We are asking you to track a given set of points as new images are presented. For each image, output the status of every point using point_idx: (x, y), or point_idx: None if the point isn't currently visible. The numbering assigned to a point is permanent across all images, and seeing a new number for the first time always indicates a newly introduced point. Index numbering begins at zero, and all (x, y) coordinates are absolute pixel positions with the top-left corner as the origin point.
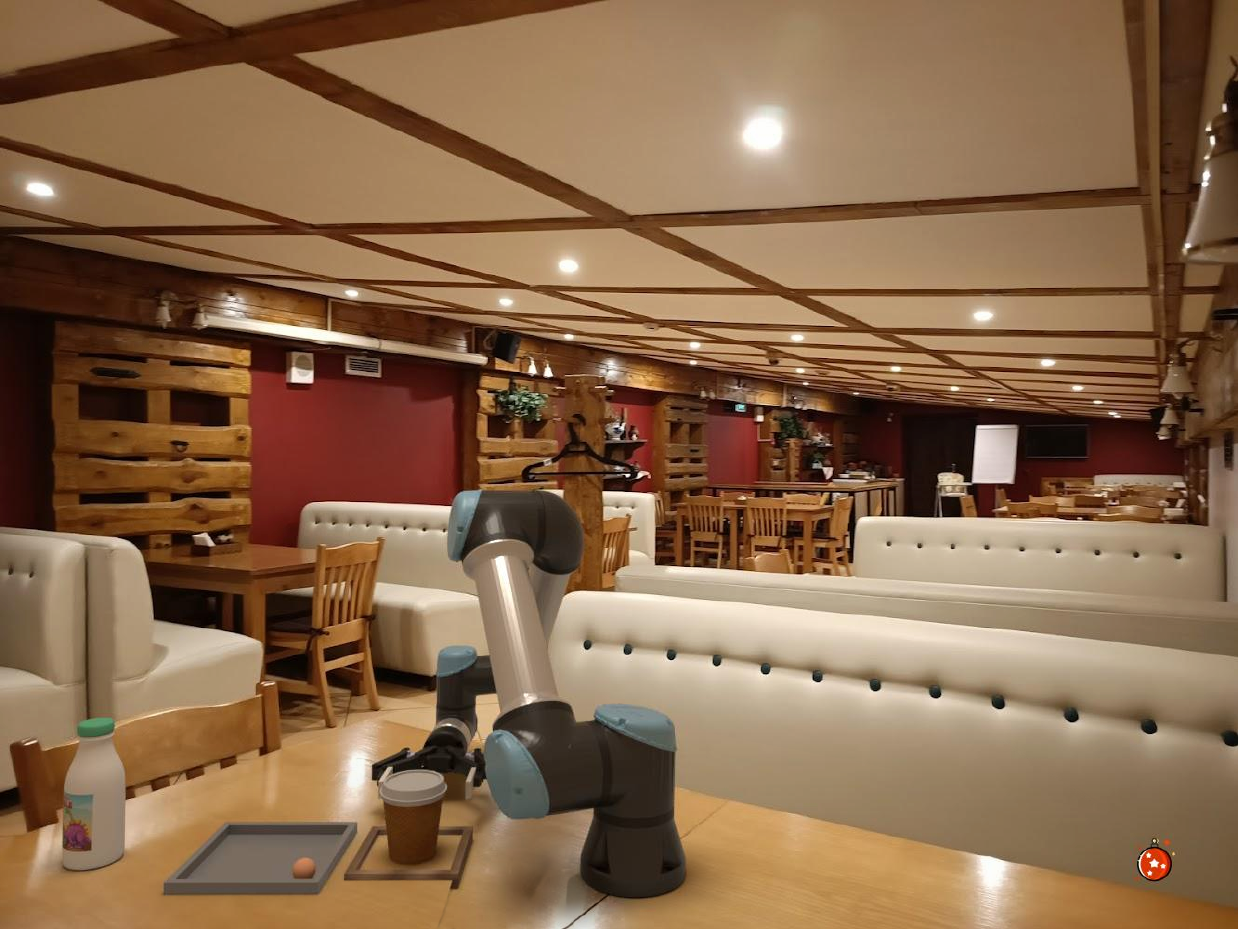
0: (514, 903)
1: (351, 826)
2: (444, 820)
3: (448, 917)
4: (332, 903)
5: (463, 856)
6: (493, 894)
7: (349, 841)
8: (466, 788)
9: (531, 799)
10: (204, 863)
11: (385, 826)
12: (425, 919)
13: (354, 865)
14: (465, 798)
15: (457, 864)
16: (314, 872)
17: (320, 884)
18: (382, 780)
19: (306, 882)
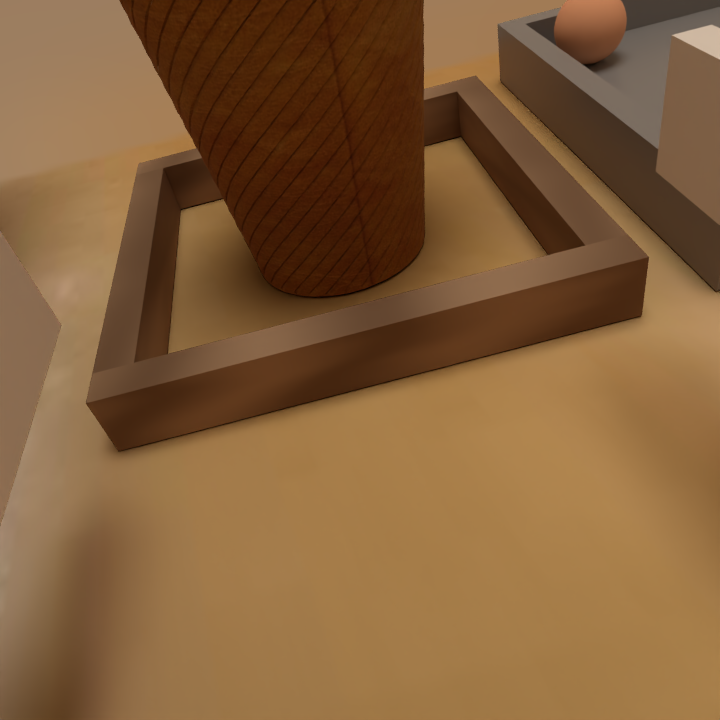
0: (8, 209)
1: None
2: (342, 644)
3: (166, 142)
4: None
5: (126, 222)
6: (57, 216)
7: (649, 177)
8: (11, 261)
9: None
10: None
11: (573, 271)
12: None
13: (476, 98)
14: (58, 322)
15: (143, 188)
16: (556, 40)
17: (505, 45)
18: (697, 38)
19: (529, 16)
